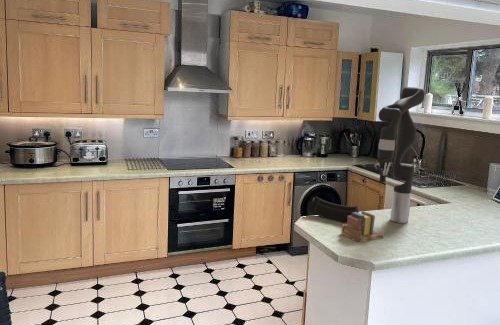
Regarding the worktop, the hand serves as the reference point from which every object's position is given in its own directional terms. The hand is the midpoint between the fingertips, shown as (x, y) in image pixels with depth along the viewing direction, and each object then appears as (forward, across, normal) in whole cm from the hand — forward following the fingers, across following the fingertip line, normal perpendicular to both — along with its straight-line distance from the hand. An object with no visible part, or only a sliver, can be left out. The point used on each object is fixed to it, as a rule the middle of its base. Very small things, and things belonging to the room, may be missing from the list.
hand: (382, 182), depth 210 cm
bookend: (+25, -8, 0) cm, 26 cm away
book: (+26, -10, 0) cm, 27 cm away
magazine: (+27, -7, +26) cm, 38 cm away
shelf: (+27, -10, 0) cm, 29 cm away
